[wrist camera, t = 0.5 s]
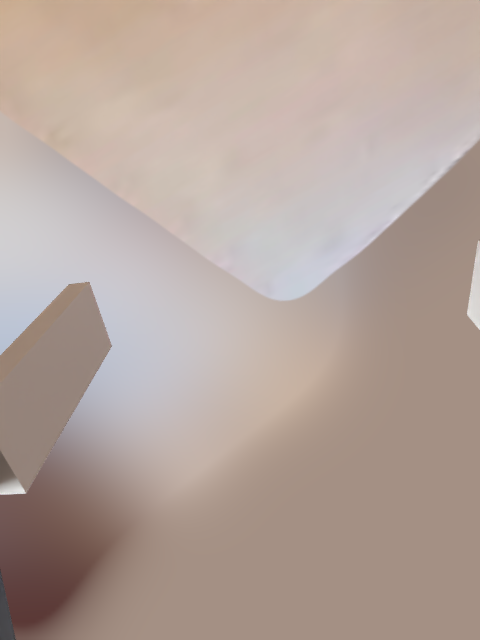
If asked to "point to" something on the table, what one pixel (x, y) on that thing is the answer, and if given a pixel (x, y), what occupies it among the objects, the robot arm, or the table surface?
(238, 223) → the table surface
